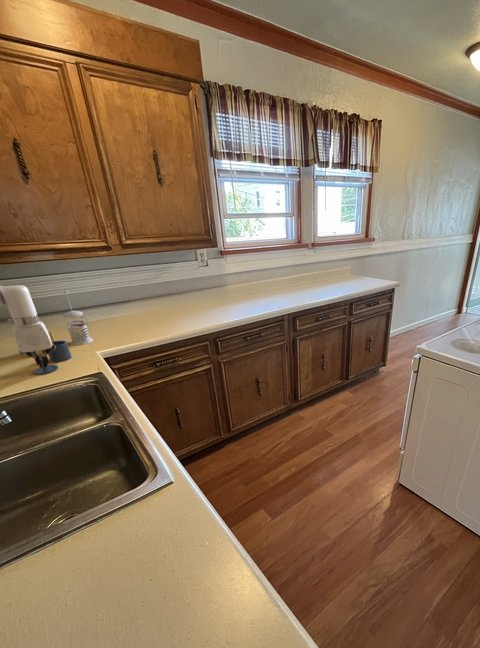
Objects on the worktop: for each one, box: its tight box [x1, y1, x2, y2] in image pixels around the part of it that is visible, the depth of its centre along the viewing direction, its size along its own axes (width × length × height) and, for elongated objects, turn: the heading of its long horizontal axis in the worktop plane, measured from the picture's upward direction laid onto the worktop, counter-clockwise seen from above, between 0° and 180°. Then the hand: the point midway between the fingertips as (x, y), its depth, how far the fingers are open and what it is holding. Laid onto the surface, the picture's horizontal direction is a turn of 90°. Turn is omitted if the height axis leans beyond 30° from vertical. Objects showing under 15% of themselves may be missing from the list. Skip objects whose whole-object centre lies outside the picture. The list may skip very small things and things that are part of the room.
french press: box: [62, 289, 94, 346], centre depth 156 cm, size 10×12×25 cm
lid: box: [32, 354, 59, 376], centre depth 129 cm, size 8×8×6 cm
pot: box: [47, 340, 73, 363], centre depth 139 cm, size 8×8×8 cm
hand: (44, 365), depth 129 cm, fingers closed on lid, 1 cm apart
